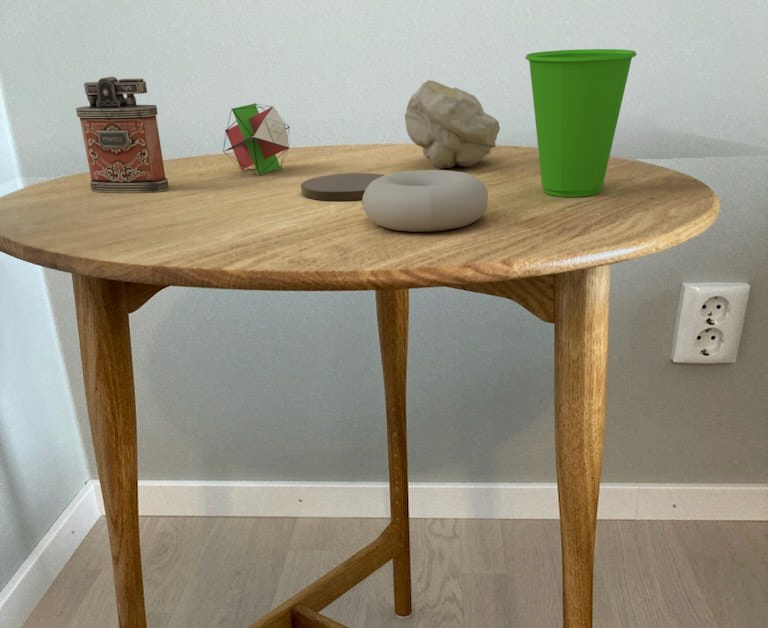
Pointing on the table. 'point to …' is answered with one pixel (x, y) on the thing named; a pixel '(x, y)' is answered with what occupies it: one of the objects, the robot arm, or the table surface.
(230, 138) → the geometric puzzle
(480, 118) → the beige lumpy stone
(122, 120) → the lighter
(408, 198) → the donut
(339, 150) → the table surface
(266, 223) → the table surface
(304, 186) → the walnut coaster
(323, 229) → the table surface
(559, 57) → the cup
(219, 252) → the table surface
